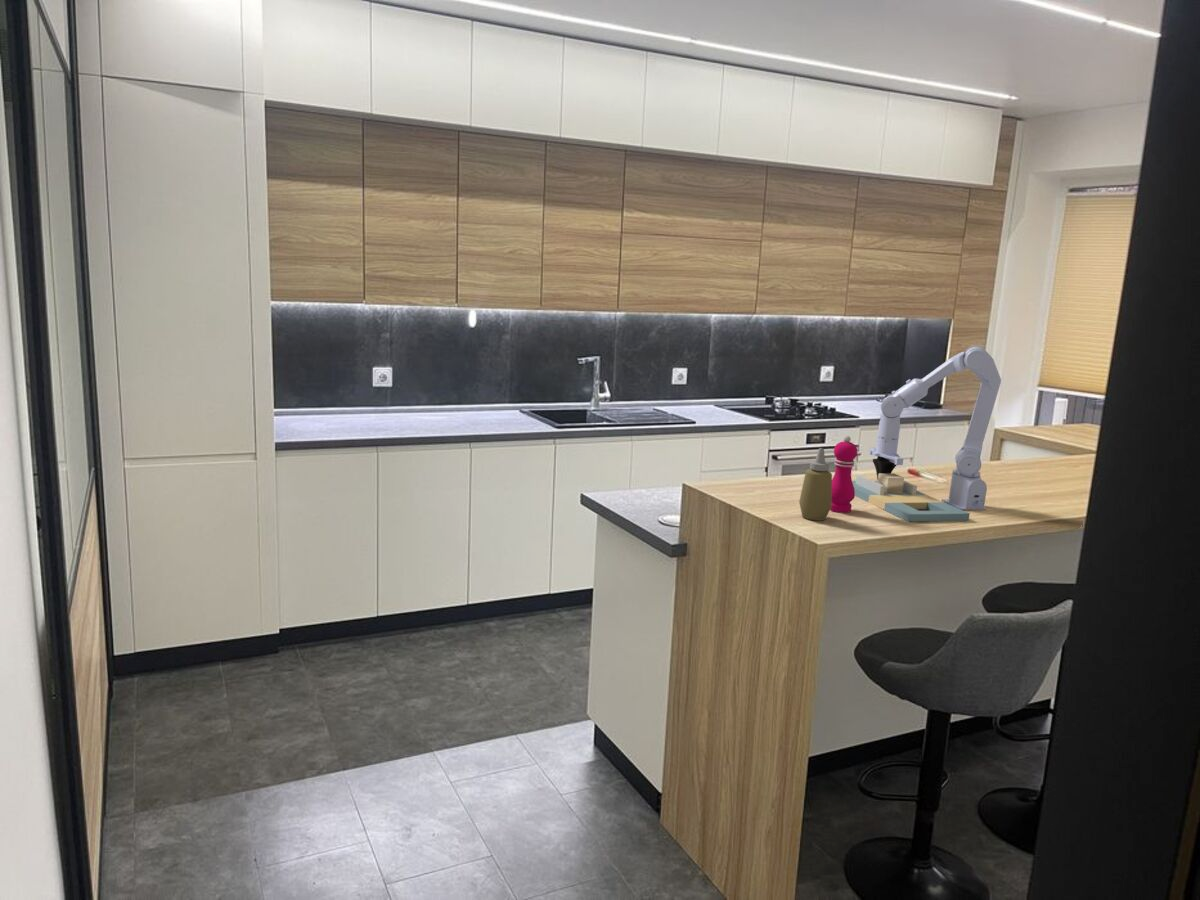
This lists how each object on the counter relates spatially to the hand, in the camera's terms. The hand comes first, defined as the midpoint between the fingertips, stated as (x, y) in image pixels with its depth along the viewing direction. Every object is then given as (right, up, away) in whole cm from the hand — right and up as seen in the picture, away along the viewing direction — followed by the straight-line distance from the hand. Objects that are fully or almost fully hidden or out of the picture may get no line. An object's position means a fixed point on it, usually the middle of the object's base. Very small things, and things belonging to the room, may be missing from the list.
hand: (882, 484), depth 250 cm
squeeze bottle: (-27, -8, -29) cm, 40 cm away
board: (+2, -5, -9) cm, 10 cm away
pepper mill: (-18, -6, -19) cm, 27 cm away
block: (+1, -2, -4) cm, 4 cm away
